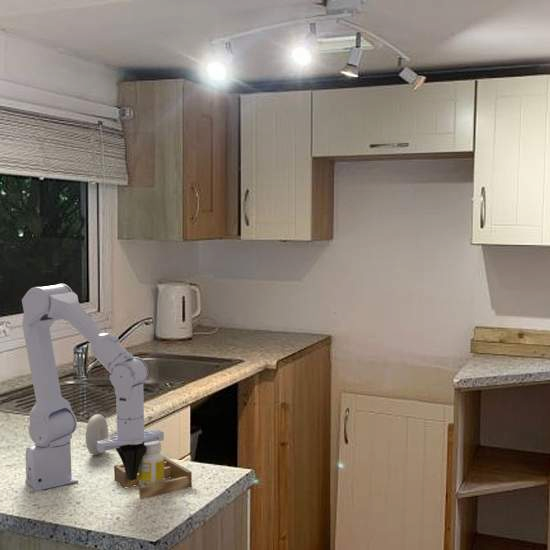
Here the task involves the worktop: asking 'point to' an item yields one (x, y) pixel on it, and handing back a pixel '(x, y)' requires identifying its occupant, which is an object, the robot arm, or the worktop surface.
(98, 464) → the worktop surface
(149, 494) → the wooden slatted frame
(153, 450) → the supplement bottle
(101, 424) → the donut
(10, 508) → the worktop surface
